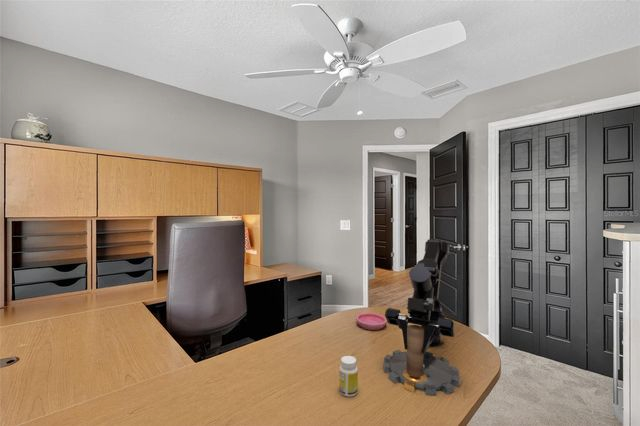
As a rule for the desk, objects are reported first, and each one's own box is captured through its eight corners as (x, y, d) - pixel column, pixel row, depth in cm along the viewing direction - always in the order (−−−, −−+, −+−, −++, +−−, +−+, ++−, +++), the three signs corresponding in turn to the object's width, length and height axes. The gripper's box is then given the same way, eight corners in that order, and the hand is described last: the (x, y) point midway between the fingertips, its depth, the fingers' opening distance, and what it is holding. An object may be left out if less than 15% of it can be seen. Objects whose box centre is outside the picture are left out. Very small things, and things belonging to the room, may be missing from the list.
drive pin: (407, 366, 82) (407, 323, 82) (423, 370, 81) (424, 326, 81) (405, 375, 78) (406, 329, 78) (422, 378, 77) (423, 332, 77)
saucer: (384, 320, 123) (385, 313, 123) (388, 333, 111) (388, 325, 111) (355, 319, 125) (356, 312, 125) (356, 331, 112) (356, 323, 112)
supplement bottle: (359, 388, 76) (359, 356, 76) (355, 399, 72) (356, 365, 72) (341, 384, 78) (342, 353, 78) (337, 394, 73) (337, 362, 73)
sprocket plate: (420, 348, 98) (420, 342, 98) (477, 382, 79) (477, 374, 79) (369, 362, 89) (369, 354, 89) (419, 404, 70) (420, 395, 70)
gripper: (387, 281, 87) (374, 330, 78) (454, 290, 78) (449, 347, 69) (393, 300, 94) (383, 347, 85) (456, 310, 85) (452, 364, 76)
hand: (414, 351), depth 78 cm, fingers closed on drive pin, 4 cm apart
